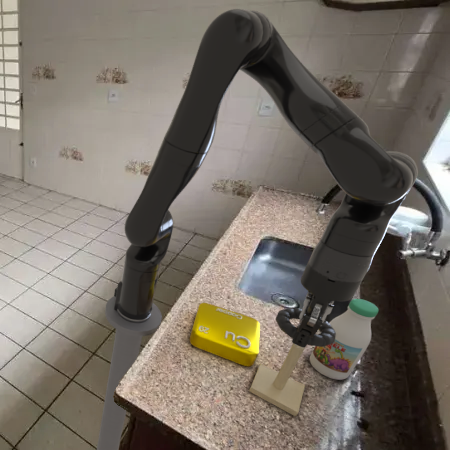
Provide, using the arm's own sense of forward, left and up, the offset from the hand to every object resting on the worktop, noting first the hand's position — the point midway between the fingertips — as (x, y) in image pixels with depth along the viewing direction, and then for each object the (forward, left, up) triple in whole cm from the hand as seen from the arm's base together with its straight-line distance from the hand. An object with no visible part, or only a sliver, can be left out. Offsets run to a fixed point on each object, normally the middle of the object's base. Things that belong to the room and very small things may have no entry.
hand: (299, 339), depth 68 cm
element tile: (-13, +13, -19) cm, 27 cm away
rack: (+1, +5, -19) cm, 20 cm away
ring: (0, +4, +1) cm, 4 cm away
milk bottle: (+9, +21, -19) cm, 30 cm away
